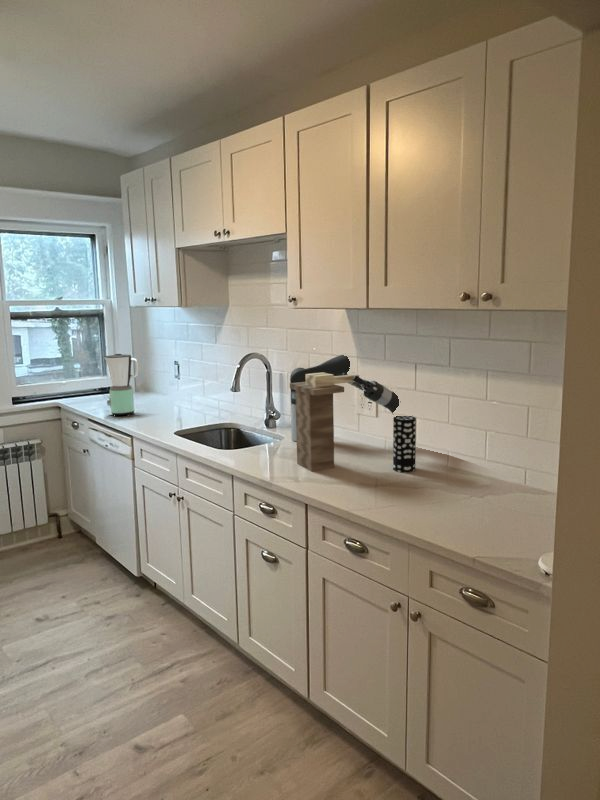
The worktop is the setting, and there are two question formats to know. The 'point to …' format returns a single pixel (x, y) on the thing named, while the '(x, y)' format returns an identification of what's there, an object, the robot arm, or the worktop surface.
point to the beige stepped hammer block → (327, 379)
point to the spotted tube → (404, 443)
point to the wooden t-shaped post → (315, 425)
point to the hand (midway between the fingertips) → (348, 376)
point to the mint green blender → (121, 383)
